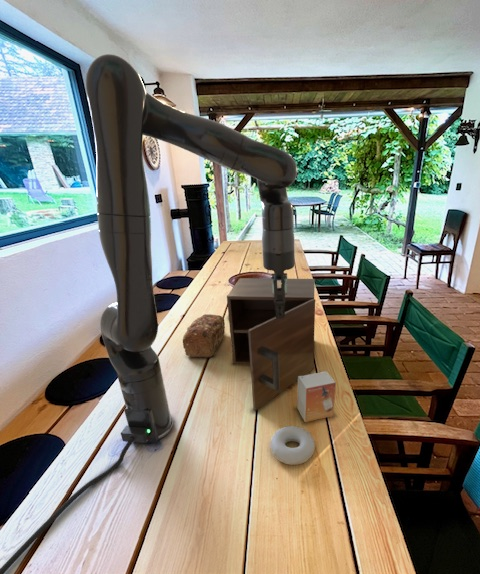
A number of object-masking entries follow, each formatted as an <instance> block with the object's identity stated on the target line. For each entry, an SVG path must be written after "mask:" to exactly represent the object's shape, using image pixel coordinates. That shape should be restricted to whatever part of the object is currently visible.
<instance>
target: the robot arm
mask: <svg viewBox="0 0 480 574" xmlns="http://www.w3.org/2000/svg"><path fill="white" fill-rule="evenodd" d="M84 83H85V84H84V85H85V92H86V96H87V101H88V106H89V111H90V116H91V123H92V127H93V128H92V129H93V135H94V143H95V152H96V177H95V178H96V179H95V181H96V184H95V185H96V186H95V187H96V212H97V225H98V235H99V241H100V245H101V249H102V251H103V254H104V257H105V260H106V262H107V265H108V268H109V270H110V272H111V275H112V278H113V281H114V285H115V290H116V291H115V292H116V302H114V303H111V304H109V305H108V306H107V307H106V308H105V309H104V310H103V312H102V314H101V317H100V322H99V327H100V333H101V337H102V340H103V344H104V347H105V350H106V353H107V356H108V359H109V361H110V363H111V366H112V367H113V369H114V370H115V372H116V377H117V380H118V383H119V387H120V390H121V394H122V397H123V401H124V405H125V408H124V410H123V411H124V415H125V418H126V422H127V425H125V426H124V427H123V429H122V431H121V432H120V436H121V440H122V442H127V443H126V444H125V446H124V447H123V449H122V450H121V452H120V454H119V458H118V460H116V462H115V463H114V464H113V465H111V467H109V468H108V469H107V470H105V471H103V472H101V474H99V475H97V476H95V477H94V478H93V479H91V480H89V481H88V482H87V483H85V484H84V485H83V486H82V487H80V488H78V490H77V491H76V492H75V493H73V494H72V495H71V496H70V497H69V498H68V499H67V500H66V501H65V502H64V503H63V504H62V505H61V506H60V507H59V508H58V509H57V510H56V511H55V512H54V513H53V514H52V515H51V516H50V517H49V518H48V519H47V520H45V522H44V523H43V524H42V525H41V526H40V527H39V528H37V530H36V531H34V533H33V534H32V535H31V536H30V537H29V538H28V539H27V540H26V541H25V542H24V543H23V544H22V545H21V546H20V547H19V548H18V550H17V551H16V552H15V553H14V554H13V555H12V556H11V557H10V558H8V560H7V561H6V562H5V563H4V564H3V565H2V566H1V567H0V574H5V573H6V572H7V571H8V570H9V569H10V568H11V566H12V565H13V564H15V562H16V561H17V560H18V559H19V558H20V557H21V556H22V554H24V553H25V552H26V551H27V549H28V548H29V547H30V546H31V545H32V544H33V543H34V542H35V541H36V540H37V539H38V538H39V537H41V535H42V534H43V533H44V532H45V531H46V530H47V529H48V527H50V526H51V524H53V522H54V521H56V520H57V518H58V517H59V516H61V515H62V513H64V511H65V510H66V509H68V507H70V505H71V504H73V502H75V500H76V499H78V498H79V497H80V496H81V495H82V494H83V493H84V492H85V491H87V490H88V489H90V488H91V487H92V486H94V484H96V483H98V482H99V481H101V480H102V479H105V477H107V476H108V475H110V474H111V473H112V472H114V471H115V470H116V469H117V468H118V467H119V466H120V465H121V463H122V462H123V461H124V459H125V456H126V454H127V452H128V451H129V449H130V447H131V446H132V444H133V443H139V444H146V443H148V444H157V443H158V442H159V441H160V440H161V439H163V438H164V437H166V436H167V435H168V434H169V433H170V432H171V430H172V429H173V425H174V424H173V420H172V416H171V411H170V406H169V402H168V397H167V392H166V387H165V383H164V377H163V372H162V366H161V362H160V359H159V356H158V354H157V352H156V351H155V350H154V349H153V347H152V345H153V344H154V343H155V340H156V338H157V335H158V332H159V320H158V313H157V307H156V306H157V305H156V299H155V293H154V292H155V291H154V284H153V259H152V221H151V205H150V197H149V196H150V195H149V189H148V184H147V178H146V171H145V167H144V166H145V165H144V158H143V157H144V156H143V138H144V136H145V137H149V138H153V139H156V140H159V141H162V142H164V143H167V144H169V145H172V146H176V147H178V148H180V149H183V150H185V151H187V152H190V153H192V154H193V155H196V156H198V157H201V158H203V159H205V160H207V161H209V162H212V163H213V164H216V165H218V166H220V167H223V168H225V169H228V170H230V171H232V172H235V173H237V174H243V175H247V176H250V177H252V178H254V179H255V180H256V184H257V190H258V196H259V199H260V200H259V201H260V205H261V221H262V223H261V224H262V236H261V243H262V244H261V245H262V264H263V266H262V267H263V268H264V269H265V270H266V271H271V272H273V273H271V274H270V278H271V284H272V293H273V295H274V304H275V312H276V318H284V317H285V306H284V305H285V303H286V301H285V295H286V294H287V285H286V284H287V279H288V272H286V271H289V270H292V269H293V268H294V267H295V232H294V210H293V209H294V208H293V203H291V201H290V200H289V198H288V187H290V186H291V185H292V184H294V183H295V181H296V179H297V176H298V166H297V165H298V164H297V163H296V160H295V159H294V158H293V157H292V155H290V154H289V153H288V152H286V151H284V150H282V149H280V148H277V147H275V146H273V145H269V144H266V143H264V142H261V141H258V140H255V139H252V138H251V137H249V136H247V135H245V134H244V133H242V132H240V131H237V130H235V129H234V128H232V127H230V126H227V125H225V124H223V123H221V122H218V121H216V120H212V119H211V118H207V117H203V116H199V115H195V114H191V113H188V112H185V111H182V110H180V109H177V108H175V107H172V106H171V105H168V104H166V103H164V102H162V101H160V100H159V99H157V98H156V97H155V96H153V95H151V94H150V93H148V92H147V91H146V88H145V85H144V83H143V81H142V78H141V76H140V74H139V73H138V71H137V70H136V69H135V67H133V66H132V64H130V62H128V61H127V60H126V59H124V58H123V57H121V56H119V55H116V54H111V53H108V54H101V55H99V56H98V57H95V59H94V60H93V61H92V62H91V64H90V65H89V66H88V69H87V71H86V74H85V82H84Z"/></svg>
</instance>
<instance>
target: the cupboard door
mask: <svg viewBox="0 0 480 574" xmlns="http://www.w3.org/2000/svg"><path fill="white" fill-rule="evenodd" d="M315 323H316V299H315V298H314V299H311V300H309V301H307V302H305V303H303V304H301V305H299V306H297V307H295V308H293V309H291V310H289V311H287V312H285V317H284V318H276V317H274V318H272V319H270V320H268V321H266V322H264V323H262V324H260V325H257V326H255V327H253V328H251V329H249V330H248V337H249V352H250V365H249V367H250V378H251V379H250V380H251V393H252V396H251V397H252V410H253V411H254V412H256V411H258V410H259V409H260V408H262V407H263V406H265V405H266V404H267V403H269V402H270V401H272V400H273V399H274V398H277V396H279V394H281V393H283V392H284V391H285V390H287V389H288V388H289V387H292V385H293V384H295V383H296V382H298V376H304V375H308V374H309V373H310V372H311V371H313V370H314V361H315V357H314V356H315V327H316V326H315Z"/></svg>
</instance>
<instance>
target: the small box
mask: <svg viewBox="0 0 480 574" xmlns="http://www.w3.org/2000/svg"><path fill="white" fill-rule="evenodd" d="M336 383H337V382H336V381H335V380H334V379H333V377H332V376H331V375H330V374H329V372H328V371H327V370H323V371H321V372H320V371H319V372H315V373H310V374H309V373H308V374H306V375H304V376H298V381H297V404H296V405H297V406H296V407H297V408H296V409H297V410H298V412H299V414H300V416H301V418H302V419H303V422H304V423H308V422H312V421H316V420H321V419H325V418H331V417H334V412H335V398H336V397H335V396H336Z"/></svg>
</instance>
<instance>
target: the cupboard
mask: <svg viewBox="0 0 480 574" xmlns="http://www.w3.org/2000/svg"><path fill="white" fill-rule="evenodd" d="M286 285H287V294H286V295H285V301H286V303H285V305H284V306H285V312H287V311H289V310H291V309H293V308H295V307H297V306H299V305H301V304H303V303H305V302H307V301H309V300H311V299H315V288H316V287H315V285H316V279H315V278H287V284H286ZM226 302H227V313H228V324H229V333H230V335H229V336H230V346H231V356H232V365H246V366H250V352H249V337H248V330H249V329H251V328H253V327H255V326H257V325H260V324H262V323H264V322H266V321H268V320H270V319H272V318H274V317H276V312H275V304H274V295H273V293H272V284H271V277H270V278H269V277H268V278H260V277H259V278H256V277H253V278H252V277H251V278H249V277H245V278H244V277H240V278H238V280H237V282H236V283H234V285H233V287H232V288H231V290H230V291H229V292H228V293H227V295H226Z"/></svg>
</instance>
